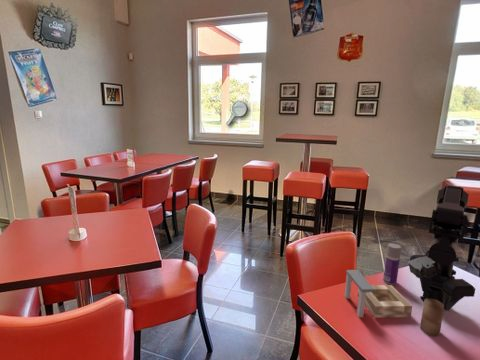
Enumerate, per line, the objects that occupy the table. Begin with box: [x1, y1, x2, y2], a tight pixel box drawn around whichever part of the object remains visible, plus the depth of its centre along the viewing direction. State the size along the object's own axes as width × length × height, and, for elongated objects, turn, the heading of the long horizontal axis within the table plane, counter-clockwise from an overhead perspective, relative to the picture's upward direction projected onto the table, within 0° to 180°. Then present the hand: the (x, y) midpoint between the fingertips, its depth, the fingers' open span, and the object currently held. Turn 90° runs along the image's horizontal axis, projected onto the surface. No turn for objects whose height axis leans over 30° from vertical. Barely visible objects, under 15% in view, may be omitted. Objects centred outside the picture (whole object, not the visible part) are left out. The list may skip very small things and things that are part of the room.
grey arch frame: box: [344, 269, 375, 318], centre depth 97 cm, size 4×12×10 cm, turn 3°
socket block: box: [357, 284, 413, 319], centre depth 98 cm, size 12×12×4 cm
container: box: [382, 243, 402, 286], centre depth 112 cm, size 5×5×15 cm
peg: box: [419, 298, 445, 337], centre depth 86 cm, size 5×5×9 cm
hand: (434, 300), depth 85 cm, fingers open, 9 cm apart
